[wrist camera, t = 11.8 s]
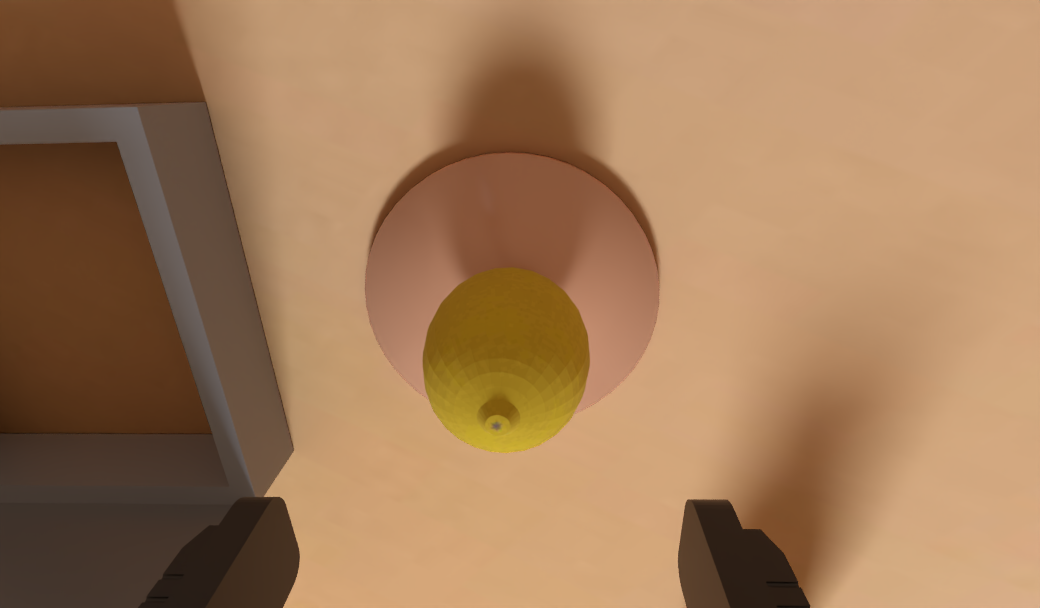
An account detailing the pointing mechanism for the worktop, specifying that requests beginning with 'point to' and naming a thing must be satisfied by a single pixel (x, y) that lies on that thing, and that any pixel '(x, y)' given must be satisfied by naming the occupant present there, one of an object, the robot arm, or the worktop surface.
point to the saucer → (514, 257)
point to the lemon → (506, 360)
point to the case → (213, 361)
